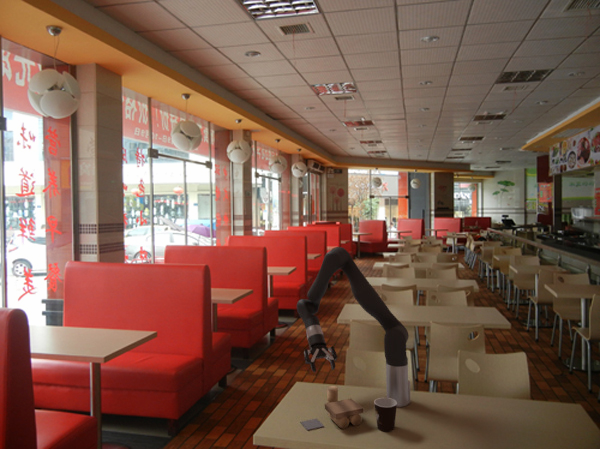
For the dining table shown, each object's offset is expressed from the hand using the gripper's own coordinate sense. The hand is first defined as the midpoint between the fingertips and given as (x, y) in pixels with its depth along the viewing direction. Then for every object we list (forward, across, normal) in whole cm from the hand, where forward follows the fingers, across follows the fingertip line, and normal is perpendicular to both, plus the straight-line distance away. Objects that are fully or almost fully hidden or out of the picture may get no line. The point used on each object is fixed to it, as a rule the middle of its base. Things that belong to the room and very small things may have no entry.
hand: (324, 370), depth 203 cm
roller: (+17, 0, +3) cm, 17 cm away
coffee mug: (+30, +15, -10) cm, 35 cm away
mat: (+23, -12, -3) cm, 26 cm away
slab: (+24, +1, -4) cm, 25 cm away
